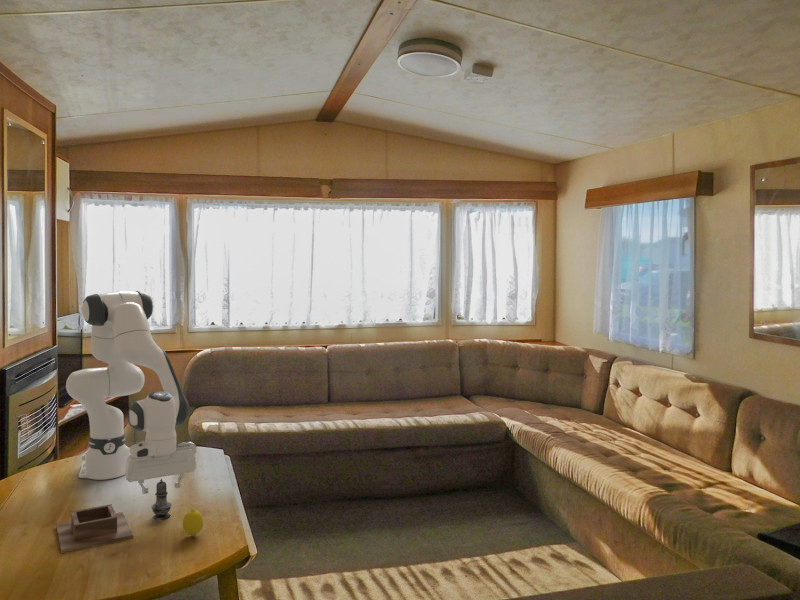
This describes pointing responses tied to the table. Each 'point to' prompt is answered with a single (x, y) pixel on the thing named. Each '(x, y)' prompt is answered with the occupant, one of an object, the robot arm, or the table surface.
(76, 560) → the table surface
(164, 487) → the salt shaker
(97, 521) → the caddy
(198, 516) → the lemon
